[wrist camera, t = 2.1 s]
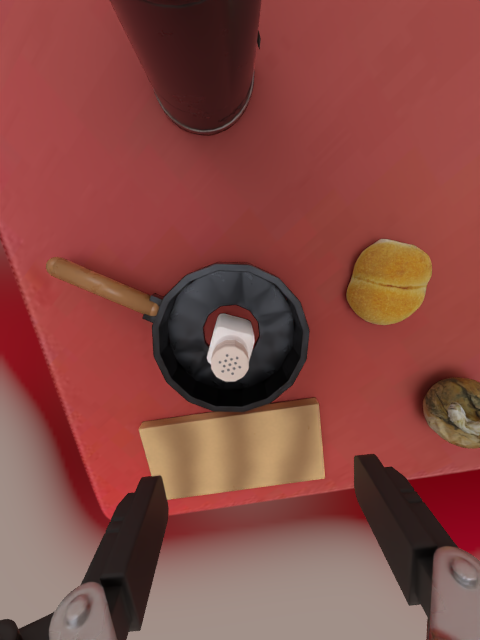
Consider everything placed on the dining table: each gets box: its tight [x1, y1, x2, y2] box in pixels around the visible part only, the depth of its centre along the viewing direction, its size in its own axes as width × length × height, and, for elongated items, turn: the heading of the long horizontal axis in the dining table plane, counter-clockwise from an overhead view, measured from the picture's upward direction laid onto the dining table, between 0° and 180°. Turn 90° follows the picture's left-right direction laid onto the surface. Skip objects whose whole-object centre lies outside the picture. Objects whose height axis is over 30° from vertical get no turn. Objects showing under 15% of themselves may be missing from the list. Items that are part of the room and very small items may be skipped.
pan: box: [46, 257, 309, 412], centre depth 29 cm, size 27×16×4 cm, turn 66°
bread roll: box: [346, 239, 432, 325], centre depth 28 cm, size 8×9×4 cm
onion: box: [423, 377, 480, 448], centre depth 30 cm, size 8×8×8 cm
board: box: [139, 398, 325, 500], centre depth 35 cm, size 22×11×2 cm, turn 98°
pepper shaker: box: [207, 313, 255, 381], centre depth 27 cm, size 4×4×10 cm
